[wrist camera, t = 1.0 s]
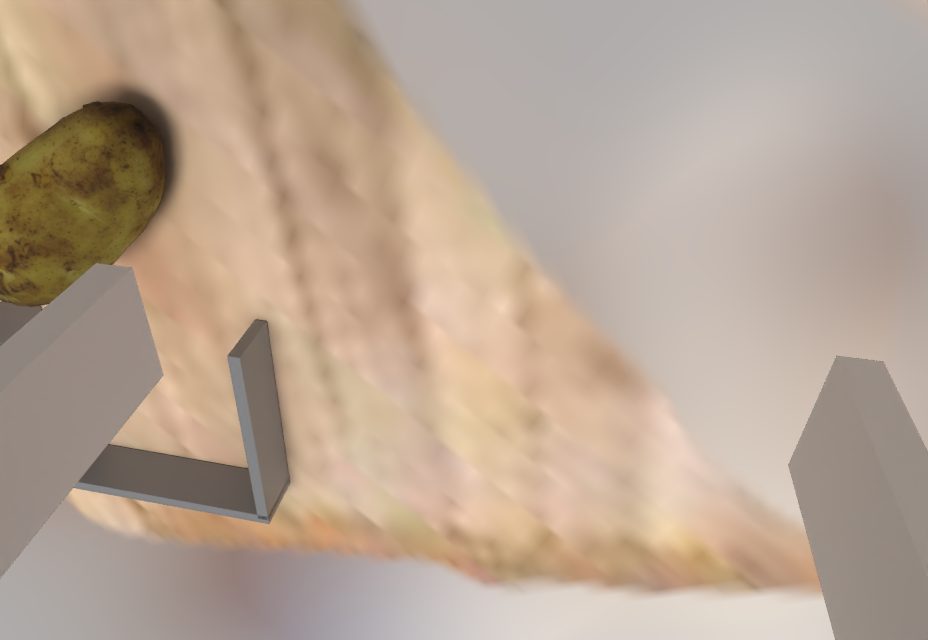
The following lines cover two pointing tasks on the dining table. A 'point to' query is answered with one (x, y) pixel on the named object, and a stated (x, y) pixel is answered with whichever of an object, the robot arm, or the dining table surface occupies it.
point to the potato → (76, 199)
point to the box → (194, 479)
